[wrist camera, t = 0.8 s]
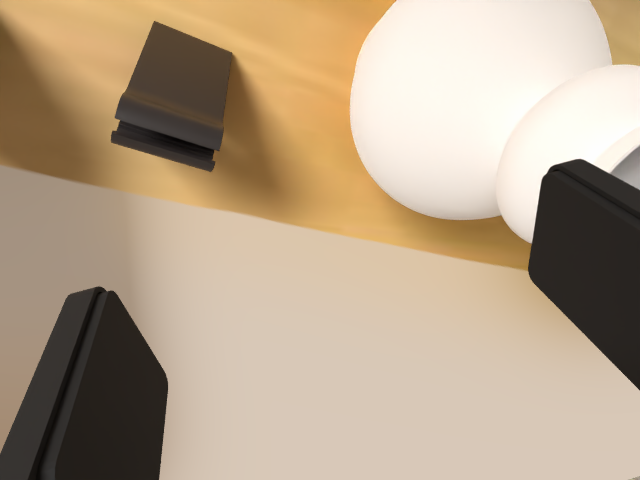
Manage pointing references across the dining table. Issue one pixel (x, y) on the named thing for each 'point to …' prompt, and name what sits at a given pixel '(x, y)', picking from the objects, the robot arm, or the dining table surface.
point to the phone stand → (175, 99)
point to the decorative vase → (490, 104)
